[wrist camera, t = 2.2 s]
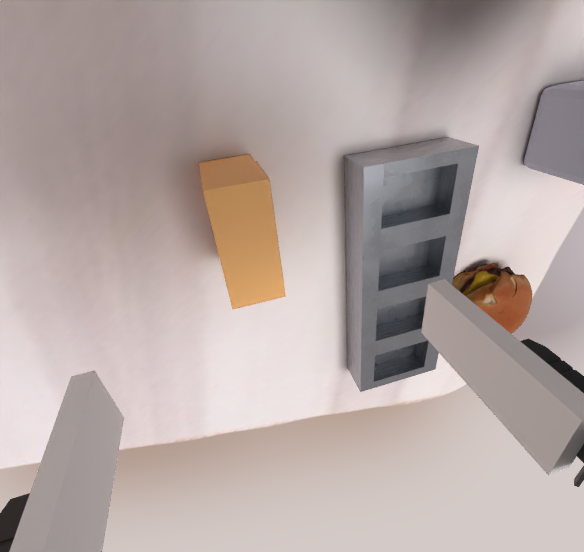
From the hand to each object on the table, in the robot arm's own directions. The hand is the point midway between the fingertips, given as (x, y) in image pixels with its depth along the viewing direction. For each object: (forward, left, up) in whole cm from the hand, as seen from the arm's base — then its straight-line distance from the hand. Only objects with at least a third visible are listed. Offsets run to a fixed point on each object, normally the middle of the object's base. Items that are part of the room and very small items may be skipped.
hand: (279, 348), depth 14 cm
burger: (+16, +24, -16) cm, 33 cm away
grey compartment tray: (+9, +14, -15) cm, 23 cm away
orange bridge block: (0, 0, -15) cm, 15 cm away
